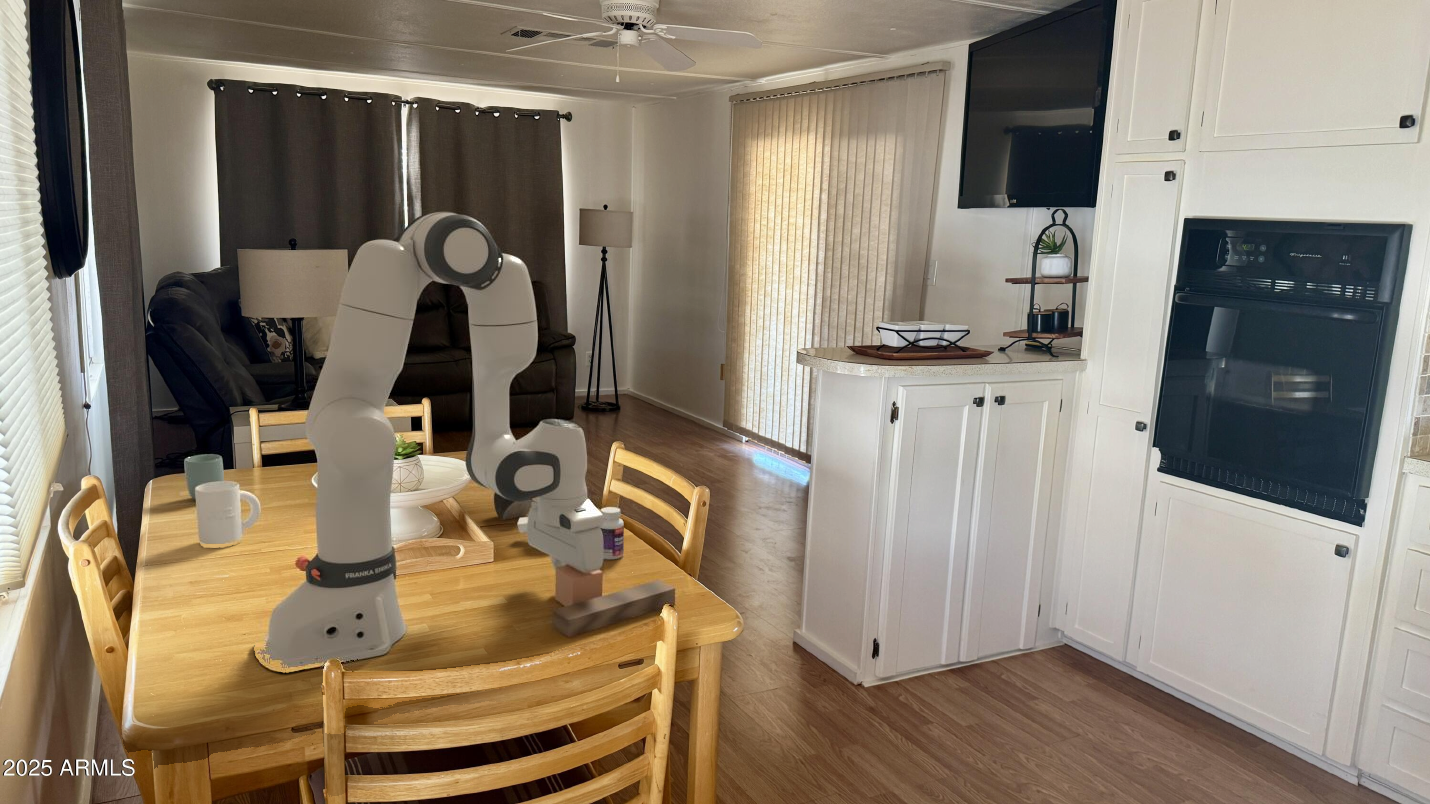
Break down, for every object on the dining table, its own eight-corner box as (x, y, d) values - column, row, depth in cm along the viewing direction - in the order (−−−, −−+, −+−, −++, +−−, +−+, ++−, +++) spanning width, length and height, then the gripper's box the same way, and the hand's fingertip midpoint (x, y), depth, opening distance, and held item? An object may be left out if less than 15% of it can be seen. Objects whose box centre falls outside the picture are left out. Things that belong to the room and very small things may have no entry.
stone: (500, 527, 212) (503, 501, 205) (486, 502, 216) (489, 476, 208) (533, 515, 216) (537, 490, 209) (518, 491, 220) (522, 465, 213)
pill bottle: (619, 561, 186) (619, 514, 185) (593, 558, 187) (593, 512, 186) (627, 552, 192) (627, 506, 190) (602, 550, 193) (601, 504, 191)
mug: (269, 539, 195) (265, 484, 192) (206, 552, 187) (201, 494, 184) (256, 529, 201) (252, 475, 198) (194, 541, 193) (190, 485, 190)
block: (572, 611, 162) (572, 579, 160) (555, 598, 166) (555, 567, 165) (601, 603, 166) (602, 571, 164) (584, 591, 170) (585, 560, 169)
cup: (231, 497, 223) (228, 457, 221) (199, 505, 216) (195, 464, 214) (213, 492, 227) (210, 452, 225) (181, 500, 220) (177, 459, 218)
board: (568, 637, 152) (568, 620, 151) (552, 627, 155) (552, 610, 155) (675, 604, 166) (675, 588, 165) (657, 595, 170) (658, 579, 169)
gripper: (517, 498, 172) (519, 568, 175) (579, 525, 157) (579, 602, 160) (547, 492, 177) (548, 561, 179) (609, 518, 162) (610, 593, 164)
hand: (563, 581), depth 170 cm, fingers closed
